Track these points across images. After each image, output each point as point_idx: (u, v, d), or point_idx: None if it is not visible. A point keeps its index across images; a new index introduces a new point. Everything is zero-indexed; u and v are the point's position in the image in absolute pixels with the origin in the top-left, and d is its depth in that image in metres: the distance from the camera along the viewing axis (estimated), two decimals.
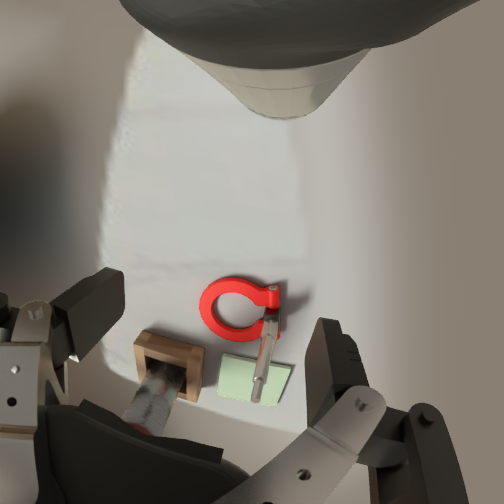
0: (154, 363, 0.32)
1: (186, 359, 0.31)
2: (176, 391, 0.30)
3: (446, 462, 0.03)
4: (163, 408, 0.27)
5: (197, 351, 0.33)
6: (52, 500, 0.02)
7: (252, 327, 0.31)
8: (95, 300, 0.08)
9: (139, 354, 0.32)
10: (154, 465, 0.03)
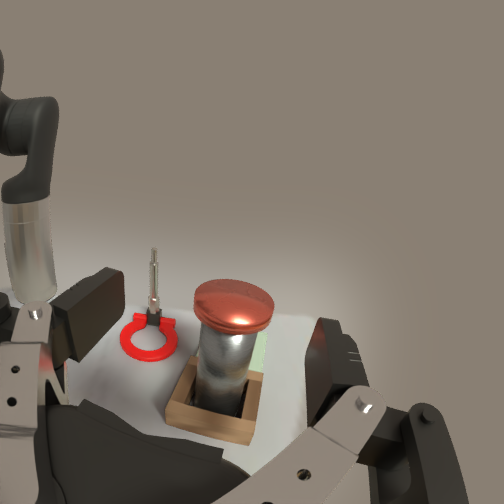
0: (197, 396, 0.25)
1: None
2: None
3: (447, 462, 0.03)
4: None
5: None
6: (52, 500, 0.02)
7: (164, 331, 0.37)
8: (95, 300, 0.08)
9: (183, 409, 0.23)
10: (154, 465, 0.03)
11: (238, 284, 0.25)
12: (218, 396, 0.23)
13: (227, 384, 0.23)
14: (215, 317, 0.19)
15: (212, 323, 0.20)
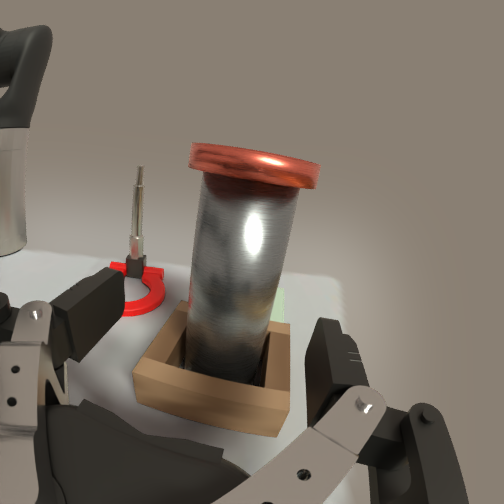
0: (188, 352, 0.16)
1: None
2: None
3: (447, 462, 0.03)
4: None
5: None
6: (52, 500, 0.02)
7: (147, 282, 0.28)
8: (95, 300, 0.08)
9: (164, 372, 0.14)
10: (154, 465, 0.03)
11: None
12: (225, 345, 0.14)
13: (241, 317, 0.14)
14: (228, 149, 0.10)
15: (221, 162, 0.11)
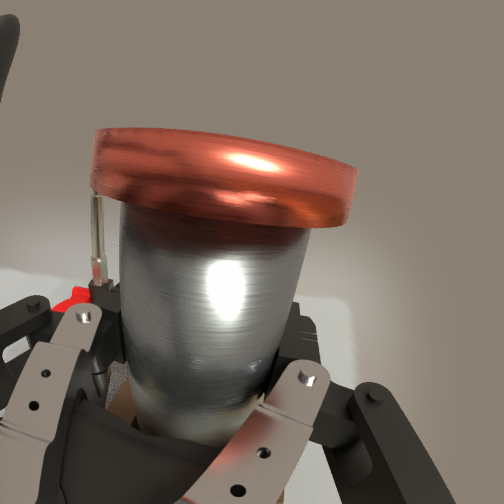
0: None
1: None
2: None
3: (406, 439, 0.04)
4: None
5: None
6: None
7: None
8: None
9: None
10: (154, 465, 0.03)
11: None
12: None
13: (206, 434, 0.07)
14: (134, 134, 0.04)
15: (122, 171, 0.04)
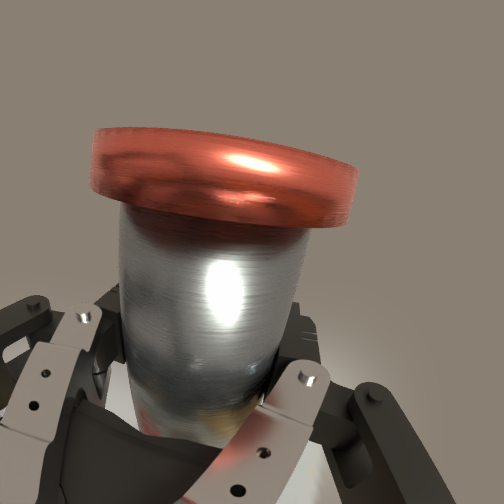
0: None
1: None
2: None
3: (406, 439, 0.04)
4: None
5: None
6: None
7: None
8: None
9: None
10: (154, 465, 0.03)
11: None
12: None
13: (206, 435, 0.07)
14: (133, 134, 0.04)
15: (121, 171, 0.04)
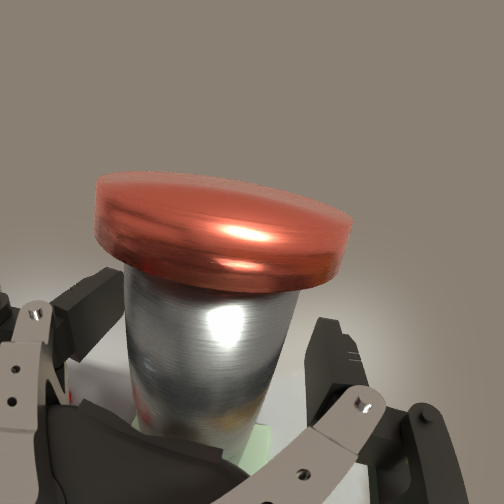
0: None
1: None
2: None
3: (446, 462, 0.03)
4: None
5: None
6: (52, 500, 0.02)
7: None
8: (95, 300, 0.08)
9: None
10: (154, 465, 0.03)
11: (236, 181, 0.09)
12: None
13: None
14: (136, 204, 0.04)
15: (126, 237, 0.04)
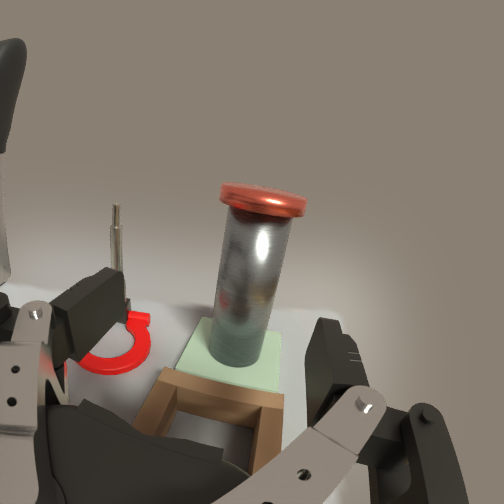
0: (214, 329, 0.23)
1: (157, 383, 0.17)
2: None
3: (447, 462, 0.03)
4: None
5: None
6: (52, 500, 0.02)
7: (132, 331, 0.24)
8: (95, 300, 0.08)
9: None
10: (154, 465, 0.03)
11: (264, 187, 0.23)
12: (242, 320, 0.21)
13: (254, 300, 0.21)
14: (248, 194, 0.18)
15: (244, 202, 0.18)
